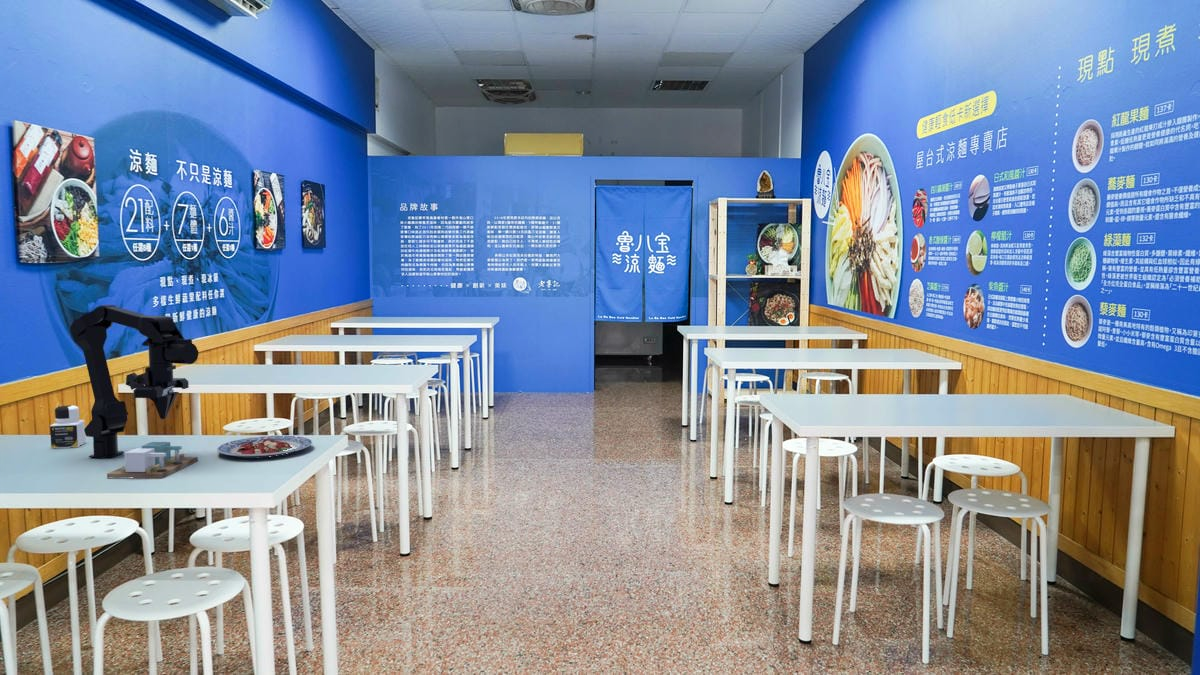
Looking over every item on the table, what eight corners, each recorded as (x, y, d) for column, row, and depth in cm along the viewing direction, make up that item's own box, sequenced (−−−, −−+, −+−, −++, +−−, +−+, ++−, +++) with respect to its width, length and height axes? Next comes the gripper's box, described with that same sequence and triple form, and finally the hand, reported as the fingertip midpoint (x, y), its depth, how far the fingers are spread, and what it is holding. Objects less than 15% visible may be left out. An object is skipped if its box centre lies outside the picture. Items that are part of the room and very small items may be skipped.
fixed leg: (136, 467, 222) (135, 448, 222) (170, 467, 222) (169, 448, 222) (125, 472, 217) (124, 452, 217) (160, 472, 217) (159, 452, 217)
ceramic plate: (200, 453, 246) (200, 443, 246) (284, 439, 266) (283, 429, 265) (244, 467, 230) (243, 456, 229) (329, 451, 249) (329, 441, 249)
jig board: (147, 460, 236) (147, 452, 236) (197, 460, 236) (197, 453, 236) (107, 478, 217) (106, 469, 217) (161, 478, 217) (161, 469, 217)
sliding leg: (152, 460, 230) (151, 441, 230) (185, 460, 230) (184, 442, 230) (142, 464, 225) (141, 445, 225) (176, 464, 225) (175, 446, 225)
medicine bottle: (50, 449, 251) (48, 408, 250) (60, 443, 258) (57, 404, 257) (77, 447, 253) (75, 407, 252) (86, 442, 260) (84, 403, 258)
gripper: (149, 358, 243) (151, 412, 244) (112, 366, 224) (114, 425, 225) (188, 358, 243) (190, 412, 244) (154, 367, 224) (156, 425, 225)
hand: (163, 418), depth 235 cm, fingers closed
